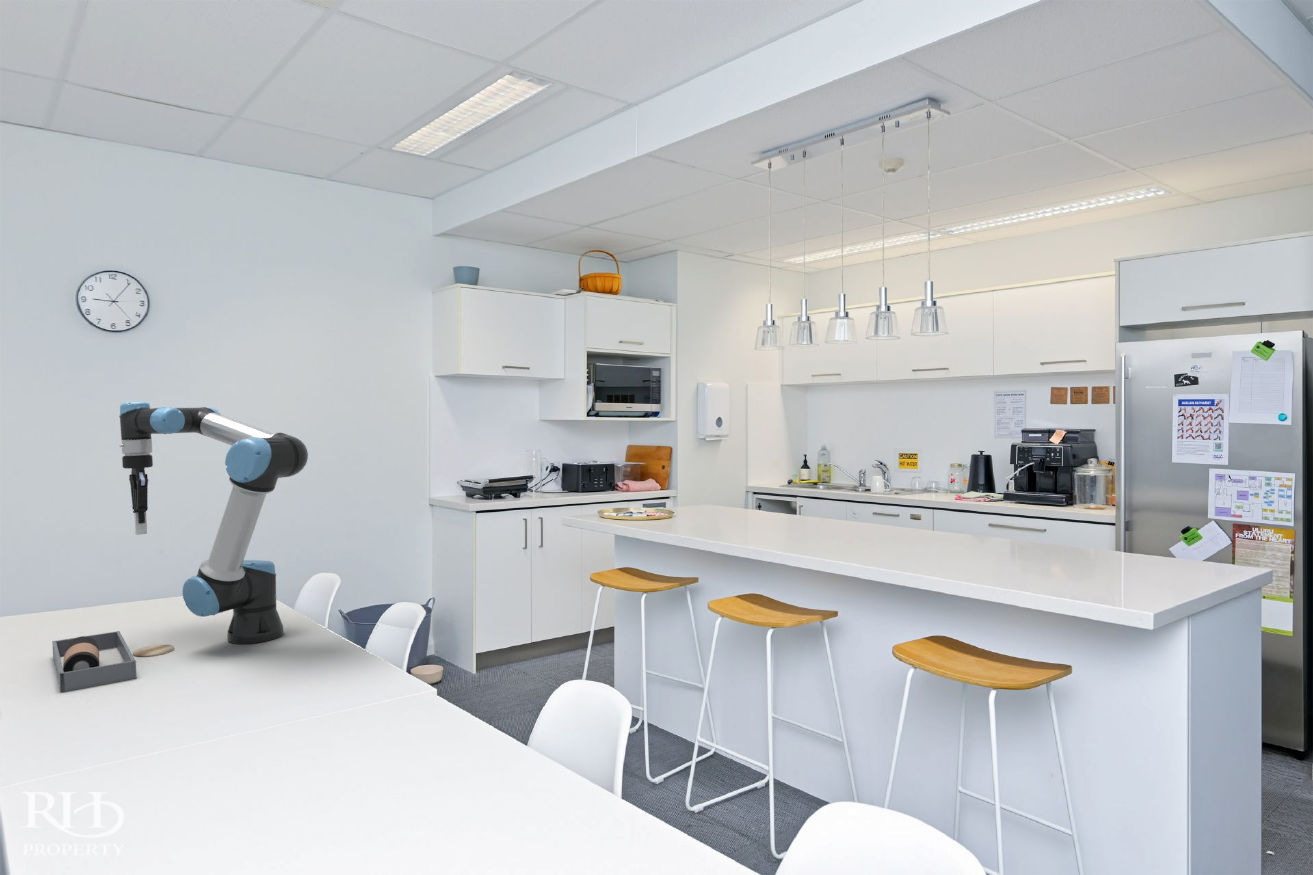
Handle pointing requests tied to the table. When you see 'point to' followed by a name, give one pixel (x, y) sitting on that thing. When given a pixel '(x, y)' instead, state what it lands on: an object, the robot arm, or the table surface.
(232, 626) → the robot arm
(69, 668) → the travel mug
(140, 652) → the cork coaster
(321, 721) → the table surface
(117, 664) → the tray
